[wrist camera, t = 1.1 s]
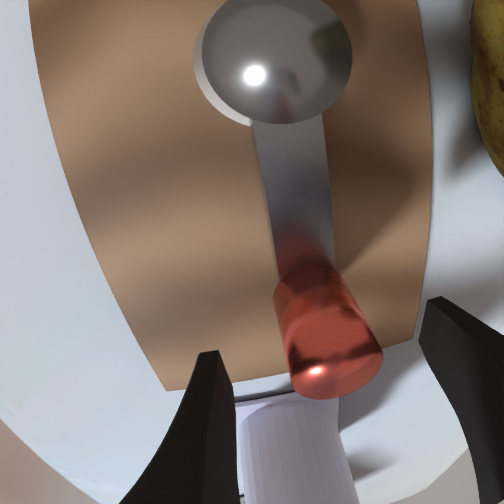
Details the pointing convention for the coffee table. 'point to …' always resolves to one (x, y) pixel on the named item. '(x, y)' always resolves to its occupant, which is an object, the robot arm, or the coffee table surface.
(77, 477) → the coffee table surface
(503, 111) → the potato
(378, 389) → the coffee table surface
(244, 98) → the lever
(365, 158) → the board
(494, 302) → the coffee table surface
